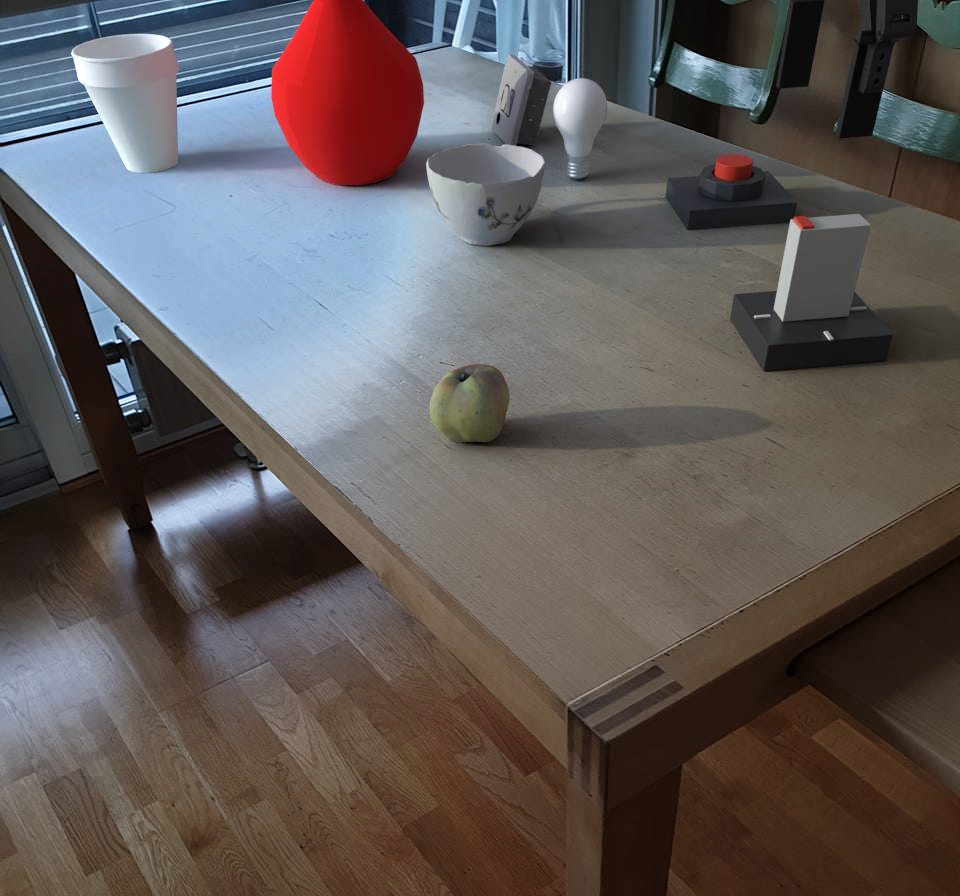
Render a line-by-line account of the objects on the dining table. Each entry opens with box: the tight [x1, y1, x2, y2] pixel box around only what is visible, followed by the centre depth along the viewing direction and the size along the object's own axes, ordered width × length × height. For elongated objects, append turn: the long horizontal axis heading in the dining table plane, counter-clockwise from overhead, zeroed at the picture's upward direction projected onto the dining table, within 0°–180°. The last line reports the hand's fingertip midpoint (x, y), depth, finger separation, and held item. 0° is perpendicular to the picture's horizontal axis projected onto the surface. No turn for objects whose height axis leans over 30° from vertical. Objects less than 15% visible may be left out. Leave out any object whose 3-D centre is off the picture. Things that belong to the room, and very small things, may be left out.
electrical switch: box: [491, 54, 552, 147], centre depth 127 cm, size 9×5×9 cm, turn 15°
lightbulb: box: [552, 77, 608, 181], centre depth 114 cm, size 6×6×11 cm
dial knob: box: [774, 213, 872, 322], centre depth 83 cm, size 6×2×8 cm, turn 96°
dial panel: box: [729, 290, 893, 372], centre depth 87 cm, size 11×10×3 cm
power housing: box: [665, 163, 798, 232], centre depth 108 cm, size 12×10×4 cm
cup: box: [70, 33, 180, 174], centre depth 123 cm, size 12×12×14 cm
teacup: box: [425, 143, 546, 247], centre depth 105 cm, size 15×12×8 cm
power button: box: [714, 153, 754, 181], centre depth 107 cm, size 4×4×2 cm
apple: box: [428, 363, 511, 443], centre depth 76 cm, size 6×8×6 cm
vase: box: [270, 0, 425, 186], centre depth 112 cm, size 18×18×30 cm
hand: (821, 110), depth 81 cm, fingers open, 13 cm apart
